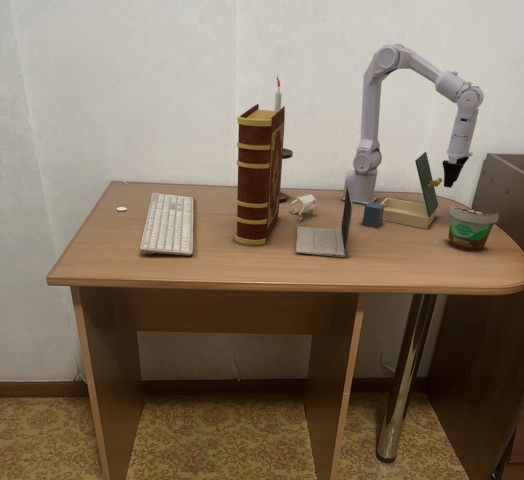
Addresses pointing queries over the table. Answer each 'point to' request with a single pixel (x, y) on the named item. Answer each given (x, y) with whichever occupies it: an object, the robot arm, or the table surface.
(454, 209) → the food container
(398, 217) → the tan tray
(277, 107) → the candlestick
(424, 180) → the box lid
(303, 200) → the origami figure
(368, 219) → the block
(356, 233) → the table surface
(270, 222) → the decorative book
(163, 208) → the keyboard
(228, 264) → the table surface
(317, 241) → the laptop
